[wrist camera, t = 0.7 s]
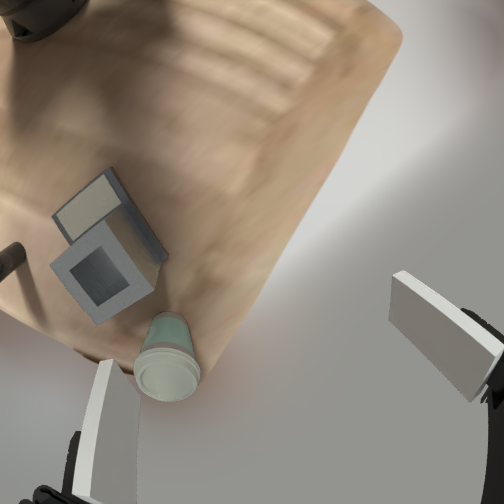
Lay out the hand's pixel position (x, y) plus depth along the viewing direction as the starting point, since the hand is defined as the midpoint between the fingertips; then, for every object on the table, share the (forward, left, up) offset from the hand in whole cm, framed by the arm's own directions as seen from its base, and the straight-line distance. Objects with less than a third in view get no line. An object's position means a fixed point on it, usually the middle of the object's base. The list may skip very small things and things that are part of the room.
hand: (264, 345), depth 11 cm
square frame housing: (-6, -14, -26) cm, 30 cm away
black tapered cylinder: (-13, -30, -26) cm, 41 cm away
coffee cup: (+11, -15, -26) cm, 32 cm away
